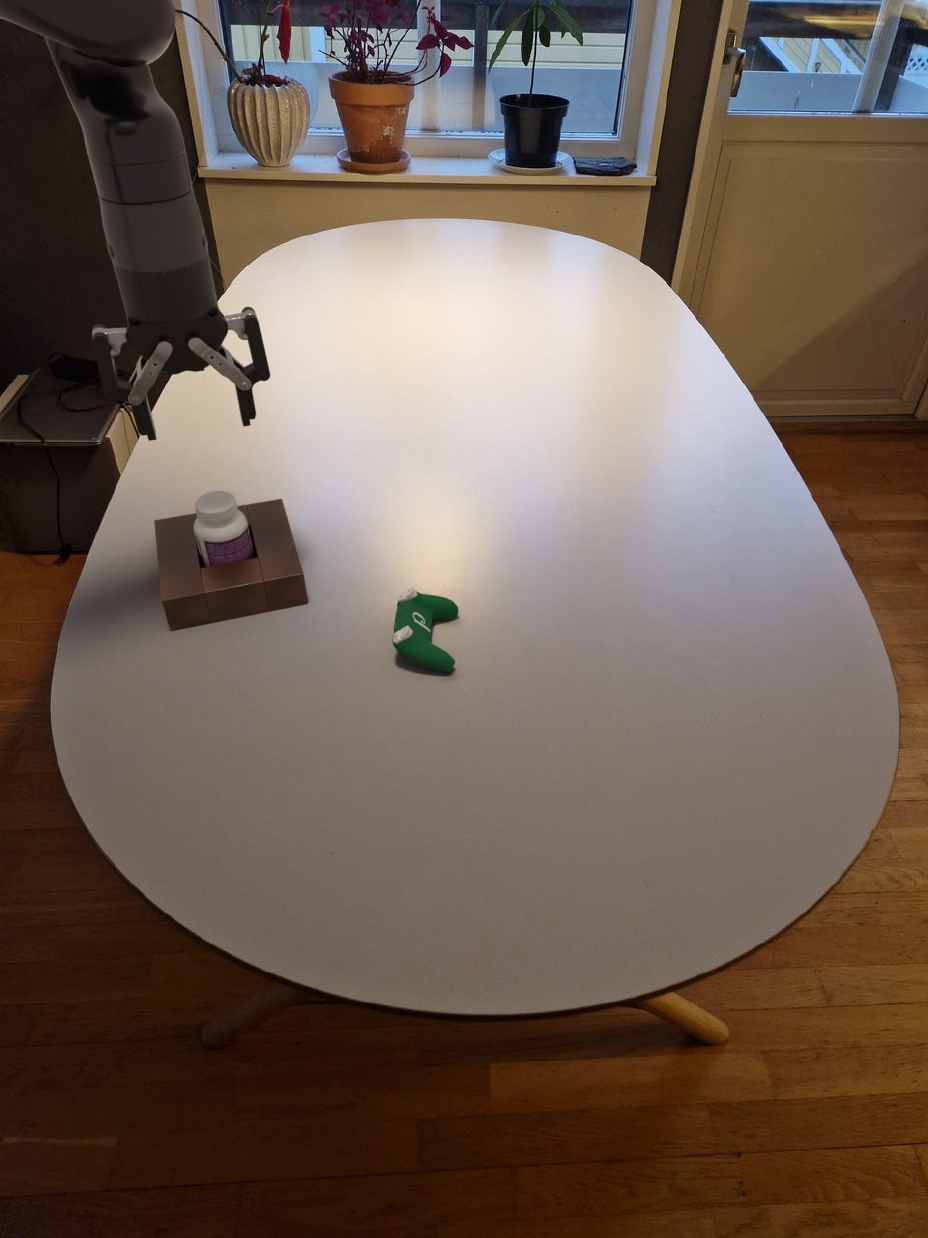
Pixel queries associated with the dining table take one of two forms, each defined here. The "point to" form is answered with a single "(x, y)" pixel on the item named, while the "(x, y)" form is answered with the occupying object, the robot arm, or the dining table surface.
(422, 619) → the gaming controller
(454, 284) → the dining table surface
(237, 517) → the pill bottle
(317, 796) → the dining table surface
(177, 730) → the dining table surface
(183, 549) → the holder
